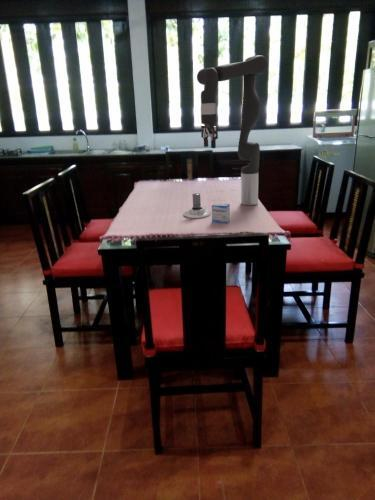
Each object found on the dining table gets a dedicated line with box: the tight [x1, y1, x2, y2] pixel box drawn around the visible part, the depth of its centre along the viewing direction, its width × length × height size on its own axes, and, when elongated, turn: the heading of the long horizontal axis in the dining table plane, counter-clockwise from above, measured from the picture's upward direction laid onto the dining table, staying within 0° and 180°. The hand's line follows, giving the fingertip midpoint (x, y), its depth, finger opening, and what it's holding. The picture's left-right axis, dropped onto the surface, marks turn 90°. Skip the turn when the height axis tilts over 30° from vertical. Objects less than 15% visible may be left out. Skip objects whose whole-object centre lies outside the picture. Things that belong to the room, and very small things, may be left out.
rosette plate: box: [183, 206, 212, 219], centre depth 204 cm, size 14×14×3 cm
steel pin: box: [192, 192, 202, 210], centre depth 203 cm, size 4×4×10 cm
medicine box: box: [211, 203, 231, 224], centre depth 189 cm, size 8×4×9 cm, turn 68°
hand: (209, 147), depth 197 cm, fingers open, 8 cm apart
